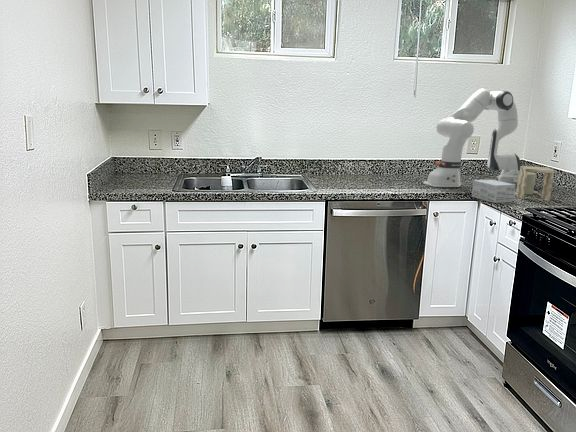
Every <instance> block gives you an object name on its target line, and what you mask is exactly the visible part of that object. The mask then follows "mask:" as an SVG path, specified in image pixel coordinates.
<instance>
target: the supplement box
mask: <svg viewBox="0 0 576 432" xmlns="http://www.w3.org/2000/svg"><path fill="white" fill-rule="evenodd" d="M516 187H517V184H516V185H515V184H510V183H508V182H501V181H499V180H495V179H491V178H490V179H474V180H473V183H472V191H471V197H472V198H474V199H475V198H476V199H479V200H482V201H487V202H490V203H494V204H495V203H496V204H498V203H500V204H501V203H513V202H514V199H515V195H514V193H515V192H516ZM512 201H513V202H512Z"/></svg>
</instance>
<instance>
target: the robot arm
mask: <svg viewBox="0 0 576 432" xmlns="http://www.w3.org/2000/svg"><path fill="white" fill-rule="evenodd" d="M484 110H489V111H490V110H493V111H496V112H497V126H496V127H495V128H494V129H493V131H492V133H491V139H490V145H489V153H488V158H487V162H486V163H487V165H486V166H487V168H488V169H489V170H490V171H491V172H493V173H494V172H499V171H501V172H500V174H498V175H497V176H496V179H498V180H497V181H501V182H506V183H510V184H515V185H516V186H517V181H518V173H519V172H520V167H521V160H520V159H521V158H520V157H519V156H518V154H516V153H515V152H514V153H506V154H498V147H499V143H500V141H501V140H502V139H503V138H505V137H506V136H507V137H508V136H509V135H511V134H512V133H514V132H515V131H516V130H517V128H518V123H519V119H518V118H519V116H518V110H517V106H516V103H515V101H514V96H513V94H512V93H511V92H510V91H508V90H492V91H489V90H488V89H486V88H480V89H477V91H475V92H474V93H473V94H472V95H471V96H469V98H468V99H467V100H466V101H465V102H464V103H463V104H462V105H461V106H460V108H459V109H457V110H455V111H454V112H453V113H452V114H450V115H449V116H446V117H445V118H443V119H441V120H439V121H438V123H437V125H436V132H437V134H439V135H441V136H443V137H444V138H448V141H447V143H446V144H445V145H444V146H443V148H442V152H441V153H442V154H441V159H440V161H437V160H436V161H435V165H438V166H437V167H436V168H435V169H434V170H432V171H431V172H429V174H428V177H427V180H426V181H425V180H424V181H423V185H426V186H429V187H435V188H460V187H461V186H462V184H461V168H462V156H463V148H464V146H465V143H466V142H467V141H468V140H469V138H470V137H472V136H473V134H474V131H475V130H474V129H475V128H474V125H473V123H472V122H474V121H476V120H477V118H478V117H479V116H480V115H481V114H482V112H483V111H484Z"/></svg>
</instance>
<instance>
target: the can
mask: <svg viewBox="0 0 576 432" xmlns="http://www.w3.org/2000/svg"><path fill="white" fill-rule="evenodd" d="M519 174H520V172H519V173H518V181H519ZM536 177H537V173H536V172H528V173H527V180H526V187H525V193H524V194H533V195H534V193H533V191H535V190H534V189H535V183H536ZM518 181H517V184H516V187H515V192H516V193H517V188H518Z"/></svg>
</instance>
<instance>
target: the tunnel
mask: <svg viewBox="0 0 576 432" xmlns="http://www.w3.org/2000/svg"><path fill="white" fill-rule="evenodd" d="M519 171H520V174H519V181H518V188H517V187H516V188H517V193H516V191H515V193H514V194H515V195H514V196H516V197H517V196H518V197H517V198H519V199H520V198H521V199H520V200H522V199H525V195H524V193H525V187H526V180H527V173H528V172H531V173H543V174H544V177H543V185H542V191H541V193H539V192H538V191H536V190H534V191H533V194H535V195H537V196H538V195H539V196H538V197H540V198H542V199H543V198H544V199H543V200H545V199H546V200H545V201H547V200H548V201H547V202H550V200H551V194H552V188H553V183H554V182H553V181H554V175H555V169H553V168H551V167H547V166H545V167H544V166H526V165H520V169H519Z"/></svg>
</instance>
